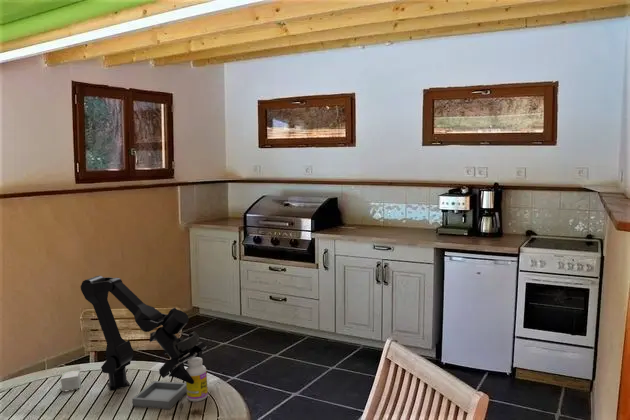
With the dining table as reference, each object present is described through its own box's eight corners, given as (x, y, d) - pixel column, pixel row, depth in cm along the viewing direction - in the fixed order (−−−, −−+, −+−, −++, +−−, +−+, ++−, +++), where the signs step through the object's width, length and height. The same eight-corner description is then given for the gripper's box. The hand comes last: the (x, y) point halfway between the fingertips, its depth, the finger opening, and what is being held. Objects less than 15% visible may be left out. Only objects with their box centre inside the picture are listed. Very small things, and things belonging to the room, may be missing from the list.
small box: (64, 385, 186) (62, 372, 186) (81, 382, 188) (80, 369, 187) (61, 392, 181) (60, 378, 180) (79, 389, 182) (78, 375, 182)
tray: (132, 406, 168) (132, 398, 168) (154, 387, 180) (153, 380, 180) (169, 409, 165) (168, 401, 164) (188, 390, 177) (188, 383, 177)
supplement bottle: (203, 402, 168) (200, 364, 166) (184, 401, 169) (180, 363, 168) (211, 393, 174) (208, 356, 173) (192, 392, 176) (189, 355, 174)
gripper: (163, 337, 162) (195, 376, 159) (199, 318, 179) (229, 353, 176) (145, 358, 166) (176, 397, 163) (182, 338, 183) (211, 372, 180)
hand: (199, 378), depth 170 cm, fingers closed on supplement bottle, 7 cm apart
